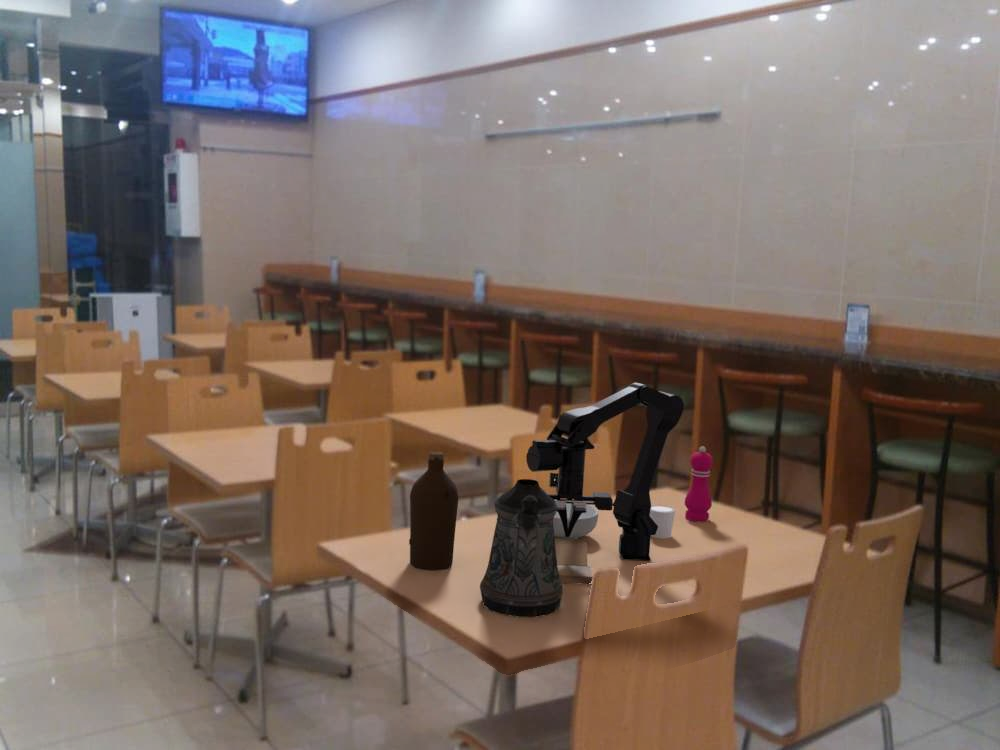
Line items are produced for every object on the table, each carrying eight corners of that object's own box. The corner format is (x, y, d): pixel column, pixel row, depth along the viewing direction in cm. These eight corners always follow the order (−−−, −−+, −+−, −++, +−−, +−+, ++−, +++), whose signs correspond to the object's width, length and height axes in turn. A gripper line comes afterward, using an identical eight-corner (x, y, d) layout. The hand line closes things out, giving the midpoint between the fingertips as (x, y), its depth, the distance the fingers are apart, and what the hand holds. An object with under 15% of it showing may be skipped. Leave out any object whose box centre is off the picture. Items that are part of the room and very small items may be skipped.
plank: (585, 544, 228) (586, 540, 226) (586, 569, 222) (587, 565, 221) (510, 540, 227) (511, 536, 226) (510, 565, 222) (510, 561, 221)
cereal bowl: (514, 532, 250) (516, 504, 249) (562, 523, 261) (563, 496, 260) (563, 550, 238) (565, 521, 237) (610, 539, 249) (612, 511, 248)
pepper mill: (678, 515, 275) (684, 443, 272) (702, 514, 277) (708, 443, 275) (691, 522, 268) (697, 449, 266) (715, 522, 270) (721, 449, 268)
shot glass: (678, 538, 253) (680, 511, 252) (654, 540, 250) (657, 512, 249) (664, 530, 259) (666, 504, 258) (641, 532, 256) (643, 505, 256)
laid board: (589, 573, 221) (589, 566, 221) (592, 584, 214) (593, 576, 214) (507, 569, 221) (508, 562, 221) (508, 580, 214) (508, 572, 214)
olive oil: (463, 561, 225) (468, 452, 222) (441, 574, 215) (447, 460, 212) (421, 553, 229) (426, 445, 226) (398, 565, 219) (403, 453, 216)
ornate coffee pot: (535, 585, 212) (542, 469, 209) (585, 617, 195) (594, 491, 192) (465, 594, 204) (471, 473, 201) (511, 628, 187) (519, 497, 184)
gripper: (609, 463, 232) (604, 528, 234) (528, 458, 232) (524, 524, 234) (615, 474, 221) (610, 542, 223) (530, 469, 221) (526, 538, 223)
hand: (567, 536), depth 226 cm, fingers closed
